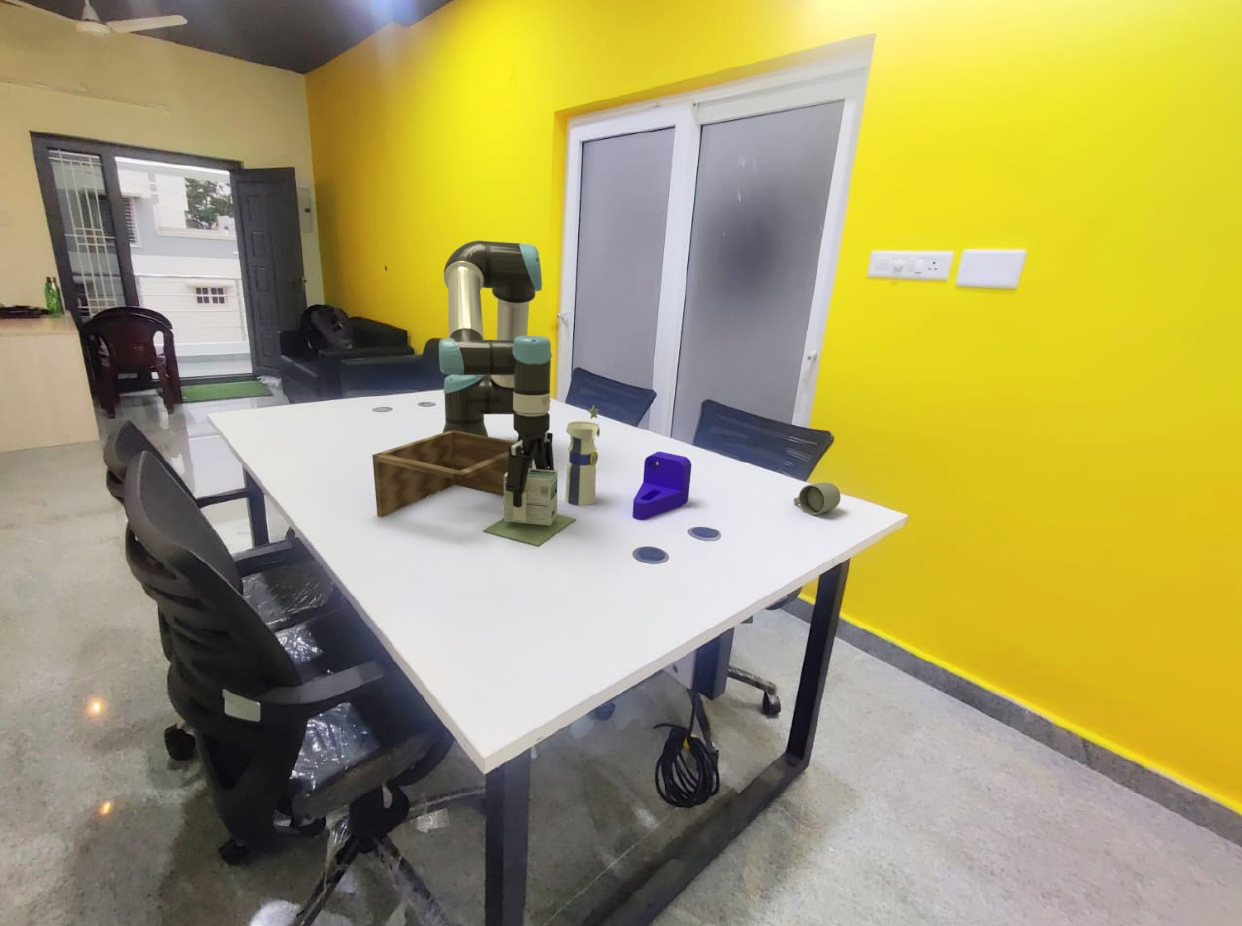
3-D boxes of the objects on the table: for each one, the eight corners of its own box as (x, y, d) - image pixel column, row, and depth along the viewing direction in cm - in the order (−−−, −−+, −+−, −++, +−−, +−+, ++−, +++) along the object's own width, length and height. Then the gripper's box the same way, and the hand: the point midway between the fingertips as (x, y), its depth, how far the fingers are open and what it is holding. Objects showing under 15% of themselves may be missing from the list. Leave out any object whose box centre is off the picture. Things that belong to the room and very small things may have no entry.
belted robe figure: (603, 497, 147) (608, 401, 140) (587, 508, 140) (591, 407, 132) (575, 491, 150) (578, 396, 143) (558, 501, 143) (560, 402, 135)
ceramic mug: (840, 512, 146) (845, 484, 144) (822, 519, 141) (827, 490, 139) (804, 500, 154) (808, 472, 152) (785, 506, 149) (789, 478, 147)
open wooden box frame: (454, 482, 152) (452, 429, 147) (532, 500, 143) (532, 445, 138) (377, 515, 129) (372, 454, 125) (463, 539, 120) (461, 475, 116)
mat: (524, 507, 138) (524, 506, 138) (575, 520, 133) (575, 518, 133) (482, 532, 124) (482, 530, 124) (538, 547, 119) (538, 545, 119)
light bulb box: (557, 514, 131) (558, 469, 127) (551, 526, 124) (552, 479, 121) (511, 510, 131) (511, 465, 128) (502, 522, 125) (502, 474, 122)
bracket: (649, 492, 153) (653, 450, 149) (687, 502, 148) (692, 458, 144) (616, 514, 138) (619, 467, 134) (657, 525, 133) (661, 477, 129)
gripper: (518, 424, 110) (518, 533, 117) (571, 405, 128) (568, 501, 135) (486, 419, 113) (488, 525, 120) (542, 401, 131) (541, 494, 138)
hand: (530, 512), depth 127 cm, fingers closed on light bulb box, 8 cm apart
